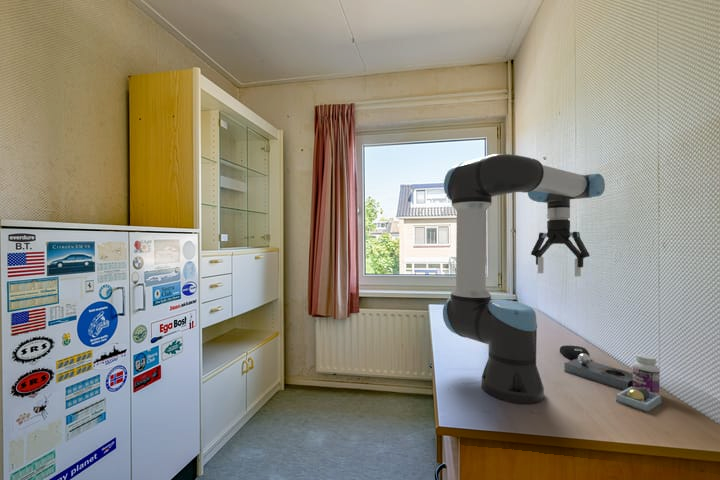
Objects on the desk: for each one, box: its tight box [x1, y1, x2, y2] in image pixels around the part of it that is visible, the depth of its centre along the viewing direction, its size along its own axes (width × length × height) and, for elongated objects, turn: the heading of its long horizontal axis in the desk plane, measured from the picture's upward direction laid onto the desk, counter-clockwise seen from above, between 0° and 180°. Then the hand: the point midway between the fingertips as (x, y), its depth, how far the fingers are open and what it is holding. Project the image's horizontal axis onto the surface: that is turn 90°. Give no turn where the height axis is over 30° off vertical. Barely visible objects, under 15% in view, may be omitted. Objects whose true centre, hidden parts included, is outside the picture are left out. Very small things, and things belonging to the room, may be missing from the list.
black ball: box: [636, 387, 649, 399], centre depth 81 cm, size 3×3×3 cm
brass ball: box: [627, 389, 644, 402], centre depth 79 cm, size 3×3×3 cm
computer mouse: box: [559, 344, 591, 361], centre depth 113 cm, size 8×12×4 cm, turn 166°
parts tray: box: [616, 387, 662, 413], centre depth 80 cm, size 9×6×2 cm, turn 121°
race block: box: [564, 358, 633, 391], centre depth 95 cm, size 9×16×2 cm, turn 31°
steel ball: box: [578, 353, 591, 364], centre depth 99 cm, size 3×3×3 cm
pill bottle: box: [632, 353, 661, 395], centre depth 86 cm, size 5×5×10 cm
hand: (558, 274), depth 123 cm, fingers open, 13 cm apart
